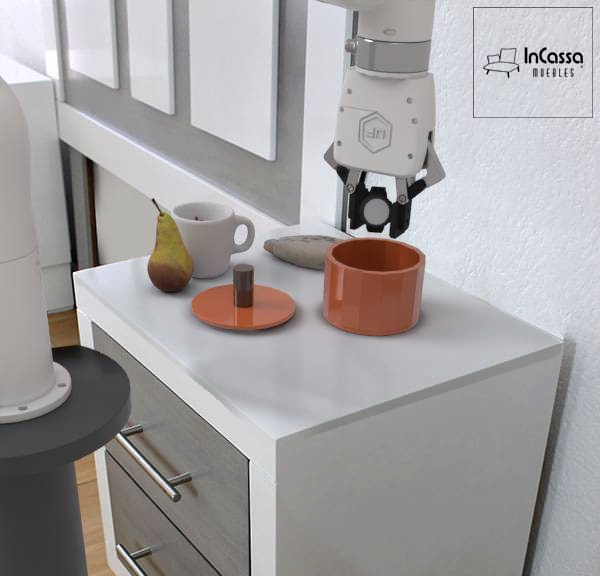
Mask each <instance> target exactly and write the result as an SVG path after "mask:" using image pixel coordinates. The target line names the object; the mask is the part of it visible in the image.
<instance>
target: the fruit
mask: <svg viewBox="0 0 600 576" xmlns="http://www.w3.org/2000/svg"><path fill="white" fill-rule="evenodd" d="M151 202H152V204H154V206H155V207H156V209H157V210H158V212H159V214H157V220H156V221H157V222H156V229H155V243H154V248H153V251H152V252H151V254H150V256H149V259H148V262H147V266H146V267H147V268H146V271H147V275H148V278H149V280H150V282H151V283H152V285H153V286H154V287H155V288H156V289H157V290H159V291H161V292H176V291H180V290H182V289H184V288H185V287H186V286H187V285H188V284H190V281H191V280H192V278H193V277H192V274H193V269H194V264H193V261H192V258H191V256H190V254H189V253H188V251H187V250H186V248H185V245H184V243H183V240H182V237H181V234H180V232H179V229H178V227H177V224H176V223H175V221H174V219H173V218H172V217H171V214H169V213H168V212H166V211H162V209H161V208H160V206H159V204H158V202H157V201H156V199H155V198H153V197H152V198H151Z"/></svg>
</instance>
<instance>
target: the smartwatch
mask: <svg viewBox="0 0 600 576" xmlns="http://www.w3.org/2000/svg"><path fill="white" fill-rule="evenodd" d="M368 191H369V195H368V197H367V198H366V199H364V200H363V201H362V204H361V206H360V217H361V221H363V223H364V225H365V229H366V231H367V233H373V234H382V233H383V232H384V230H385V227H386V226H387V225H388V224H390V219H391V208H392V204H393V202H392V201H391V200H390V199H389V198H388V192H387V187H386V186H376V185H371V187H370V189H369V190H368Z"/></svg>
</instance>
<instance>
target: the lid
mask: <svg viewBox="0 0 600 576" xmlns="http://www.w3.org/2000/svg"><path fill="white" fill-rule="evenodd" d="M232 282H233V283H230V284H222V285H216V286H213V287H210V288H207V289H204V290H202V291H200V292H199V293H197V294H196V295H195V296H194V297H193V299H192V300H191V304H190V305H191V307H190V308H191V311H192V313H193V315H194V317H196V318H197V319H198V320H200V321H201V322H203V323H205V324H207V325H211V326H214V327H218V328H221V329H226V330H227V329H228V330H239V331H252V330H253V331H254V330H262V329H268V328H272V327H277V326H279V325H281V324H283V323H285V322H287V321H289V320H290V319H291V318H292V317H293V316H294V314H295V311H296V303H295V301H294V299H293V298H292V296H290V295H289V294H288V293H286V292H284V291H282V290H280V289H277V288H274V287H271V286H268V285H262V284H255V267H254V266H253V265H251V264H248V263H238V264H235V265H234V266H233V267H232Z"/></svg>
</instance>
